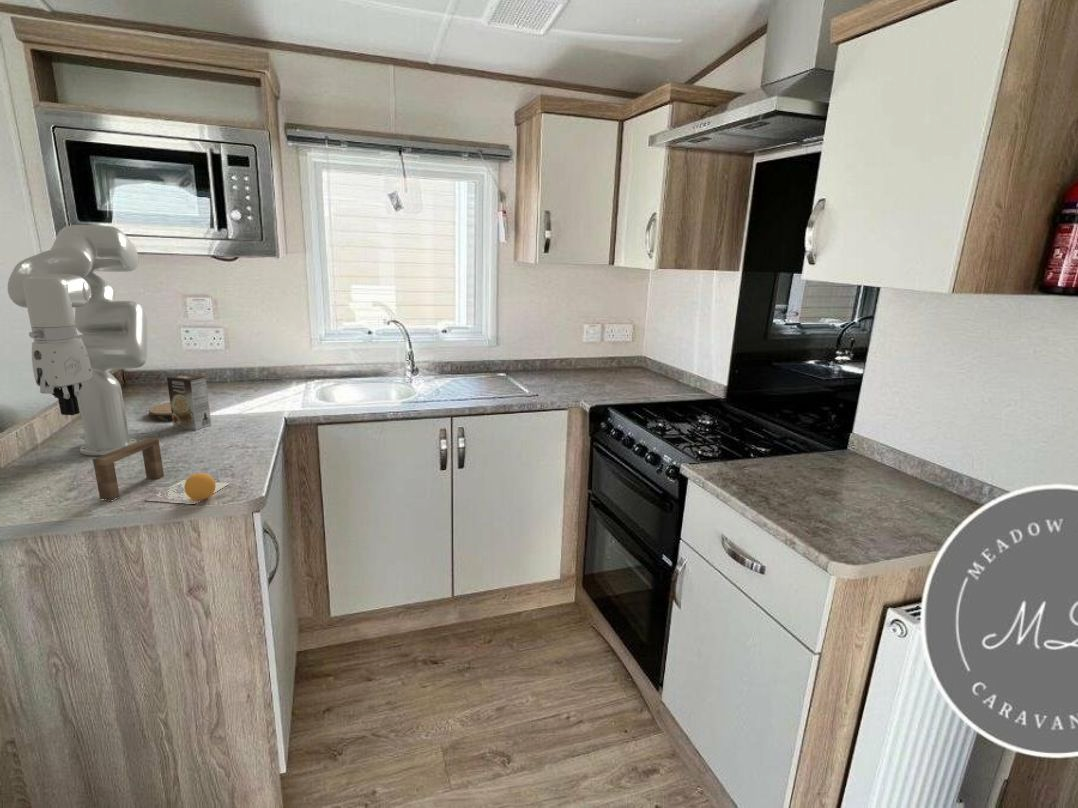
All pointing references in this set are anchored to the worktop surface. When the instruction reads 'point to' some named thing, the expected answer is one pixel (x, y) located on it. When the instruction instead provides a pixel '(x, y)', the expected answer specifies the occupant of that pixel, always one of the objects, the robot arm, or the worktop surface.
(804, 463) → the worktop surface
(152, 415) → the wood slice
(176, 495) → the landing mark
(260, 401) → the worktop surface
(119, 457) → the bridge
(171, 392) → the coffee box
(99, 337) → the robot arm
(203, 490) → the ball
